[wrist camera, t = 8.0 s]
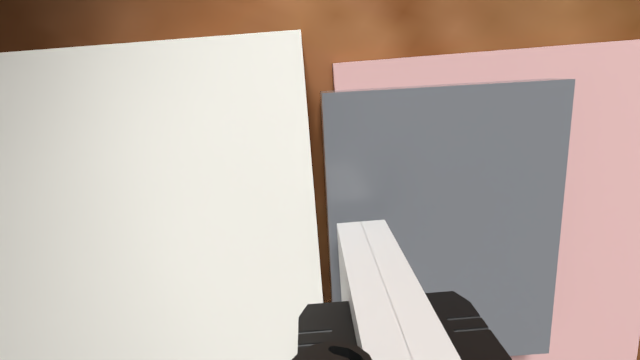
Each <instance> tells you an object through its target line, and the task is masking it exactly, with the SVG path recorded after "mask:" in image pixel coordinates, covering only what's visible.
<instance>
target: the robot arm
mask: <svg viewBox="0 0 640 360" xmlns="http://www.w3.org/2000/svg"><path fill="white" fill-rule="evenodd" d="M337 238H338V253H339V269H340V284H341V300H342V301H341V302H329V303H317V304H307V306H306V307H305V309H304V310H303V312H302V313H301V314H300V316H299V319H298V351H297V355H296V356H295V357H294V358H293V359H292V360H512V359H511V357H510V356H509V354H508V353H507V352H506V350H505V349H504V348H503V346H502V345H501V343H500V342H499V341H498V339H497V338H496V337H495V335H494V334H493V332H492V331H491V330H489V328H488V326H487V324H486V323H485V321H484V320H483V319H482V318H480V315H479V313H478V312H477V310H476V309H475V308H474V306H473V305H472V304H471V302H470V301H468V300H467V299H465V298H464V297H462V296H461V295H459V294H457V293H456V292H454V291H446V292H434V293H425V292H424V291H423V289H422V287H421V285H420V283H419V281H418V280H417V278H416V276H415V274H414V272H413V270H412V269H411V267H410V265H409V263H408V261H407V260H406V258H405V256H404V254H403V252H402V250H401V249H400V247H399V245H398V243H397V241H396V239H395V238H394V236H393V234H392V232H391V230H390V228H389V227H388V225H387V223H386V221H385V220H373V221H360V222H347V223H337Z"/></svg>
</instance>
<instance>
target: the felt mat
mask: <svg viewBox="0 0 640 360" xmlns="http://www.w3.org/2000/svg"><path fill="white" fill-rule="evenodd" d="M332 67H333V82H334V91H335V90H352V89H370V88H388V87H406V86H423V85H441V84H459V83H477V82H494V81H512V80H530V79H548V78H551V79H575V89H574V99H573V110H572V120H571V130H570V141H569V151H568V161H567V172H566V182H565V192H564V203H563V213H562V223H561V234H560V244H559V254H558V264H557V275H556V285H555V295H554V306H553V316H552V326H551V337H550V347H549V353H546V354H532V355H518V356H510V357H511V359H512V360H636V359H637V352H638V345H639V337H640V39H639V40H626V41H613V42H600V43H588V44H575V45H562V46H549V47H536V48H523V49H511V50H498V51H485V52H472V53H459V54H446V55H434V56H421V57H408V58H395V59H382V60H370V61H357V62H344V63H333V64H332Z"/></svg>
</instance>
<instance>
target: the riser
mask: <svg viewBox="0 0 640 360" xmlns="http://www.w3.org/2000/svg"><path fill="white" fill-rule="evenodd" d="M317 303H323V293H322V281H321V268H320V256H319V244H318V232H317V220H316V208H315V196H314V184H313V172H312V159H311V147H310V135H309V123H308V111H307V99H306V87H305V75H304V62H303V50H302V38H301V30H289V31H276V32H263V33H250V34H237V35H224V36H211V37H198V38H185V39H172V40H159V41H146V42H133V43H120V44H107V45H94V46H81V47H68V48H55V49H42V50H29V51H16V52H3V53H0V360H292V359H293V358H294V357H295V356H296V355H297V351H298V319H299V316H300V314H301V313H302V312H303V310H304V309H305V307H306V306H307V304H317Z"/></svg>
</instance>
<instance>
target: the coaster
mask: <svg viewBox="0 0 640 360" xmlns="http://www.w3.org/2000/svg"><path fill="white" fill-rule="evenodd" d="M574 89H575V79H551V78H548V79H530V80H512V81H494V82H477V83H459V84H441V85H423V86H406V87H388V88H370V89H352V90H335V91H320V100H321V119H322V138H323V157H324V176H325V196H326V215H327V234H328V253H329V272H330V291H331V302H341V301H342V300H341V284H340V269H339V253H338V238H337V223H347V222H360V221H373V220H385V221H386V223H387V225H388V227H389V228H390V230H391V232H392V234H393V236H394V238H395V239H396V241H397V243H398V245H399V247H400V249H401V250H402V252H403V254H404V256H405V258H406V260H407V261H408V263H409V265H410V267H411V269H412V270H413V272H414V274H415V276H416V278H417V280H418V281H419V283H420V285H421V287H422V289H423V291H424V292H425V293H434V292H446V291H454V292H456V293H457V294H459V295H461V296H462V297H464V298H465V299H467V300H468V301H470V302H471V304H472V305H473V306H474V308H475V309H476V310H477V312H478V313H479V315H480V318H482V319H483V320H484V321H485V323H486V324H487V326H488V328H489V330H491V331H492V332H493V334H494V335H495V337H496V338H497V339H498V341H499V342H500V343H501V345H502V346H503V348H504V349H505V350H506V352H507V353H508V354H509V356H518V355H532V354H546V353H549V347H550V337H551V326H552V316H553V306H554V295H555V285H556V275H557V264H558V254H559V244H560V234H561V223H562V213H563V203H564V192H565V182H566V172H567V161H568V151H569V141H570V130H571V120H572V110H573V99H574Z"/></svg>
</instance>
